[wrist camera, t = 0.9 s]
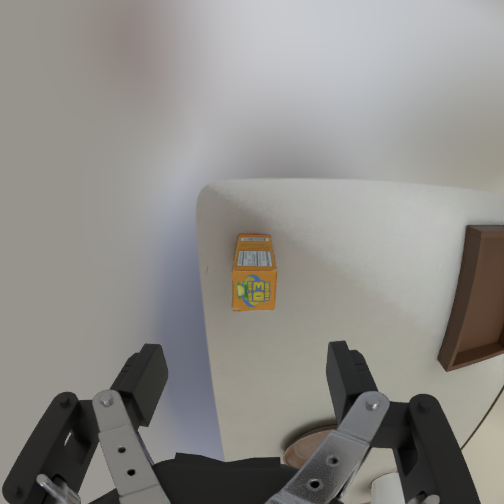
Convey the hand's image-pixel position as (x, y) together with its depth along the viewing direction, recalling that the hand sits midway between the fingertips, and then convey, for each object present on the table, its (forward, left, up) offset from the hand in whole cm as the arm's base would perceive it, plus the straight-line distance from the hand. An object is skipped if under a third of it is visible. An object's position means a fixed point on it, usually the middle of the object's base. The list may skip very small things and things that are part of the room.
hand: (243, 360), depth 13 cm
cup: (+57, +27, -17) cm, 65 cm away
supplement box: (0, 0, -17) cm, 17 cm away
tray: (+8, +32, -17) cm, 37 cm away
